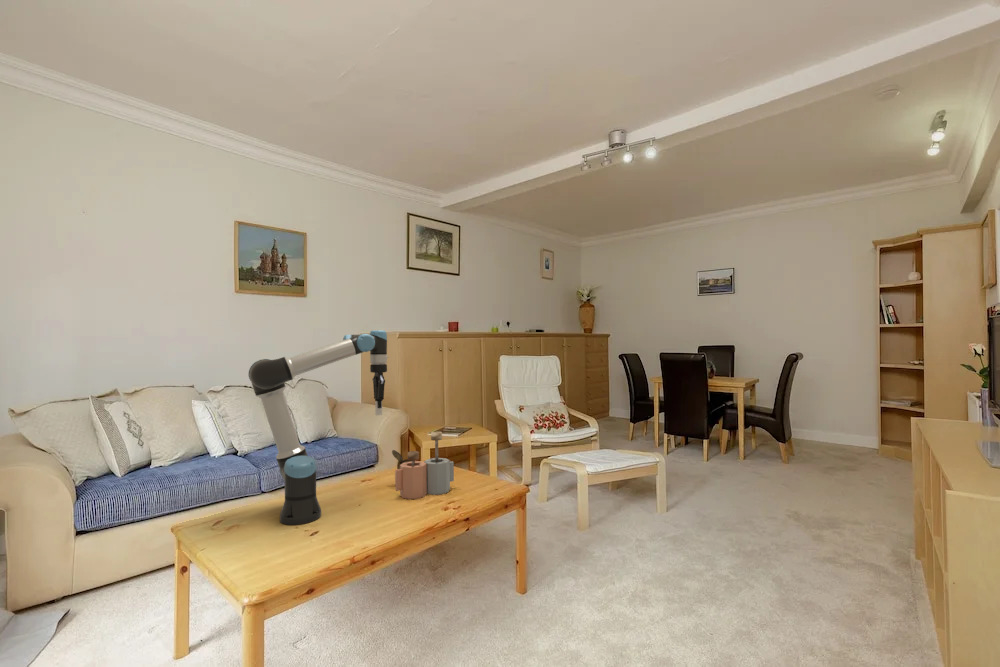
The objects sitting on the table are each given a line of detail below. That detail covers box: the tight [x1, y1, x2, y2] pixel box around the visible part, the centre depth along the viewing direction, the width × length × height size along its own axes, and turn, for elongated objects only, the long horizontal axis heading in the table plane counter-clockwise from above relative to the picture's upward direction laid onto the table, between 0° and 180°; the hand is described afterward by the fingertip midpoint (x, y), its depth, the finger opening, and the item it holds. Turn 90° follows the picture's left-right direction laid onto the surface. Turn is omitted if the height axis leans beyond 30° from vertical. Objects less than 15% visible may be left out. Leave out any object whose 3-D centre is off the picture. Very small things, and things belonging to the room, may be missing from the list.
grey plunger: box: [430, 431, 443, 463], centre depth 222 cm, size 5×5×16 cm
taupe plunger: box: [407, 450, 420, 466], centre depth 216 cm, size 5×5×16 cm
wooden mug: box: [391, 449, 411, 470], centre depth 234 cm, size 9×14×18 cm, turn 142°
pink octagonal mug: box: [394, 460, 428, 500], centre depth 216 cm, size 14×11×14 cm
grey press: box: [423, 457, 455, 496], centre depth 223 cm, size 14×11×14 cm
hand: (378, 414), depth 220 cm, fingers closed
